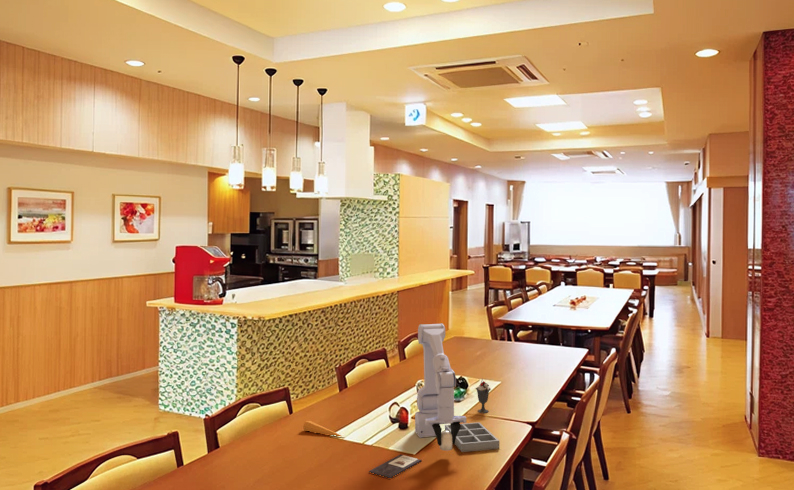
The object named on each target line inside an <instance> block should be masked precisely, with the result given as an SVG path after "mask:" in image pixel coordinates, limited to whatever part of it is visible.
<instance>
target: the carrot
mask: <svg viewBox="0 0 794 490" xmlns="http://www.w3.org/2000/svg"><path fill="white" fill-rule="evenodd" d="M302 429H303V431H305V432H306V431H310V432H316V433H322V434H329V435H336V436H342V435H341V434H339V433H337V432H335V431H334V430H331V429H329V428H326V427H324V426H322V425H320V424H318V423H316V422H314V421H312V420H306V421H305V422H304V423H303V425H302ZM310 432H309V433H310ZM316 433H315V434H316ZM322 434H321V435H322Z"/></svg>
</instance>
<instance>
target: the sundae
mask: <svg viewBox="0 0 794 490" xmlns="http://www.w3.org/2000/svg"><path fill="white" fill-rule="evenodd" d="M475 390H476V394H477V399H478V402H479V403H480V404H481V408H480V409H478V410H477V412H478V413H480V414H487V413H489V412H490V411H489V410H488V409H486V407H485V405H486V403H487V402H488V401H489V393H490V391H491V390H492V389H491V387H490V385H489V384H488V383H487V382H486V381H484V380H483V379H481V382H480V384H479V385H478V386H477V387H475Z"/></svg>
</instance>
